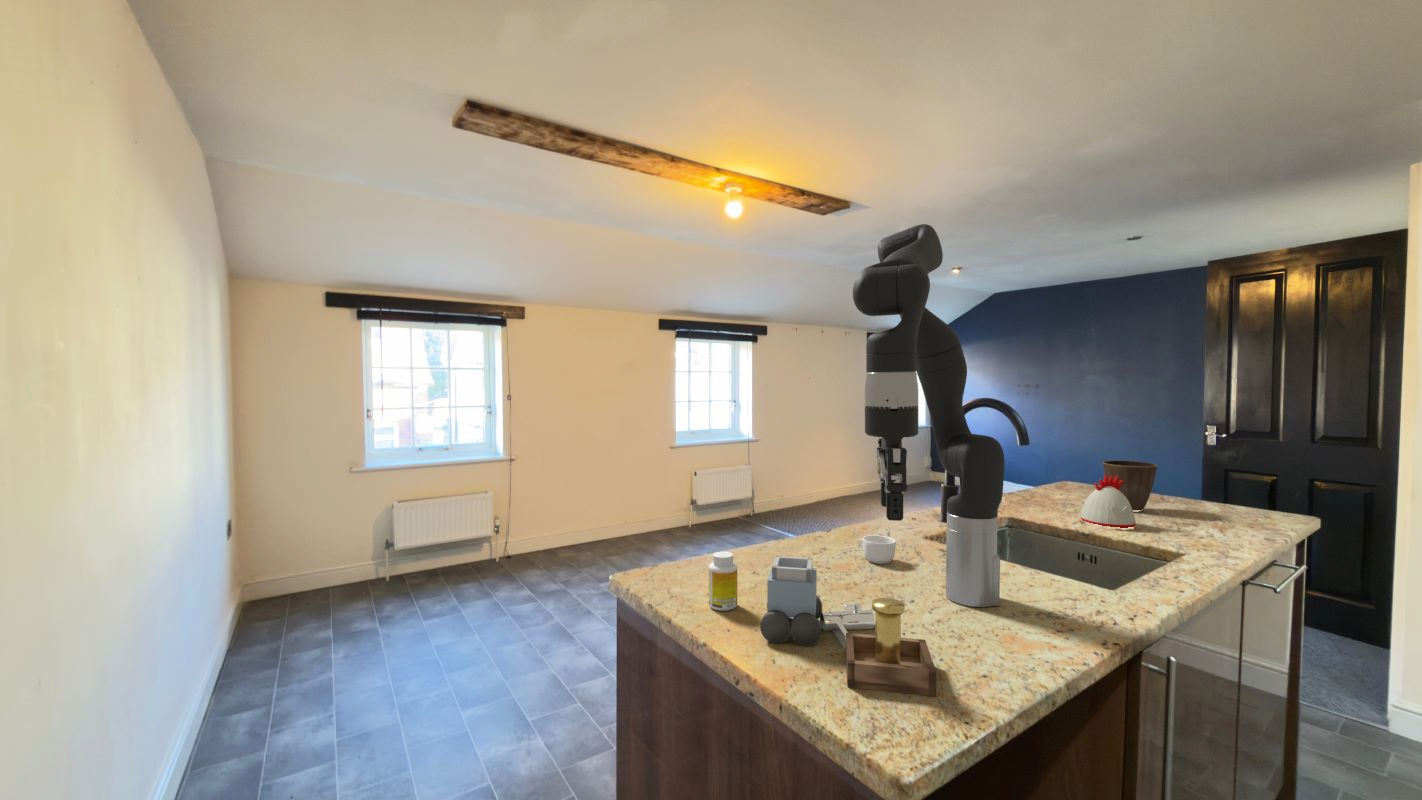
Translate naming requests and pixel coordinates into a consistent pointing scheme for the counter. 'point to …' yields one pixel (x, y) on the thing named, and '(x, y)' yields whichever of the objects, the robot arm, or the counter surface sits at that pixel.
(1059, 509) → the counter surface
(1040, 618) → the counter surface
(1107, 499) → the kitchen timer
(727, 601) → the supplement bottle
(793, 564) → the trolley
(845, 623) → the grey metal piece
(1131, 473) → the plant pot
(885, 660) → the stop pin
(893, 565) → the counter surface
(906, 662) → the tray
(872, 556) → the teacup
